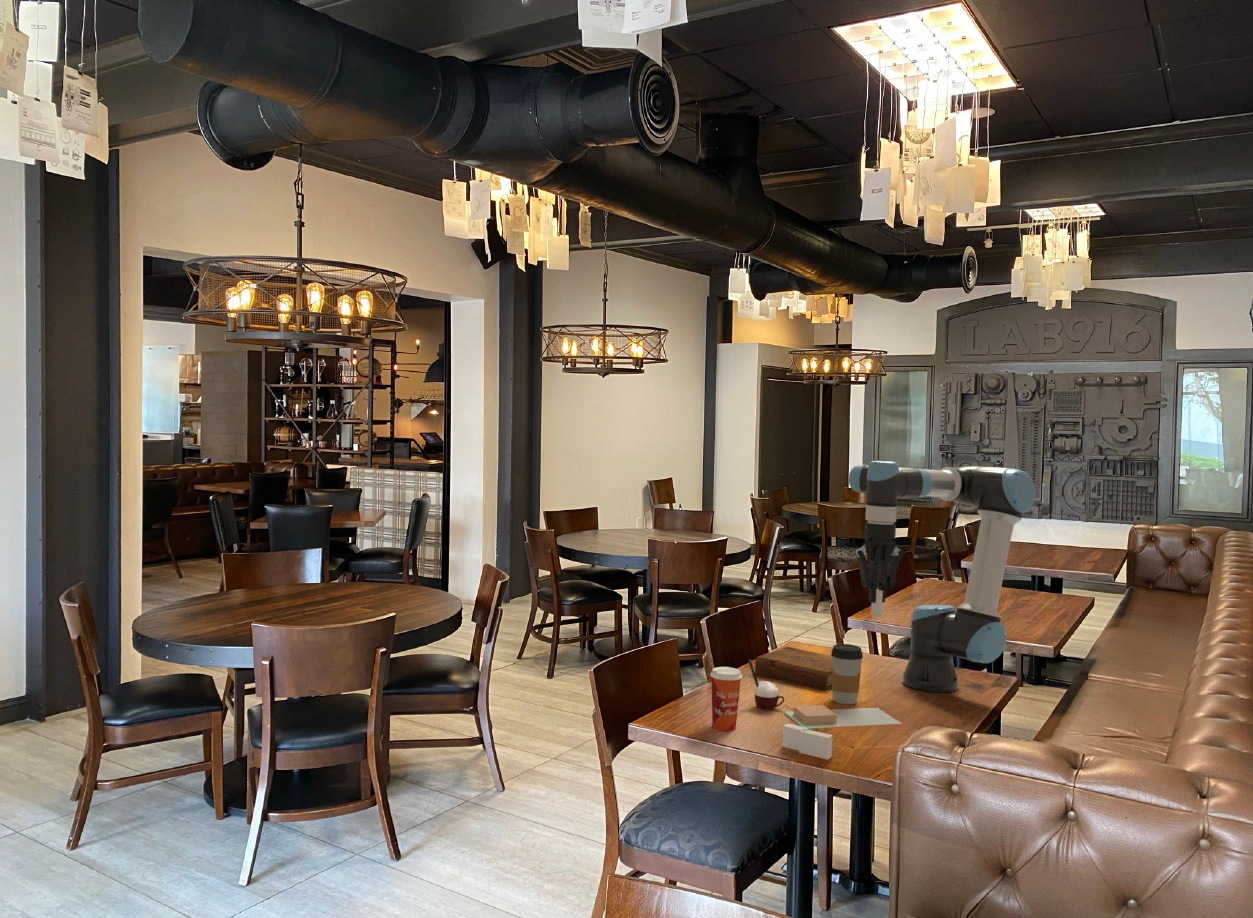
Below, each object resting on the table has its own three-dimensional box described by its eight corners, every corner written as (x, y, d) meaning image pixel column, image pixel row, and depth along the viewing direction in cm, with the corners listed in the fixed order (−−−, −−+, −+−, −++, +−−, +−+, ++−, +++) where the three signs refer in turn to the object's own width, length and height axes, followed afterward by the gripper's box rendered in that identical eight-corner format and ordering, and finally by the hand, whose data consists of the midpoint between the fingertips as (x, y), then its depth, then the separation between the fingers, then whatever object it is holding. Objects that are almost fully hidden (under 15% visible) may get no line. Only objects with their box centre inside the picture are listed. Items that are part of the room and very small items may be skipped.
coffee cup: (861, 709, 252) (864, 652, 251) (828, 706, 253) (831, 649, 253) (860, 700, 260) (862, 645, 259) (828, 697, 262) (831, 642, 261)
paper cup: (715, 733, 228) (717, 675, 228) (703, 723, 236) (705, 666, 235) (745, 731, 231) (748, 674, 230) (733, 721, 238) (735, 665, 237)
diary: (754, 676, 282) (755, 657, 282) (786, 665, 297) (786, 646, 296) (826, 692, 268) (826, 672, 267) (855, 679, 282) (856, 659, 282)
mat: (876, 709, 252) (877, 707, 252) (902, 725, 239) (902, 723, 239) (784, 713, 246) (784, 711, 246) (804, 730, 233) (804, 728, 233)
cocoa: (785, 709, 250) (790, 664, 250) (774, 714, 245) (779, 668, 245) (752, 701, 256) (757, 656, 255) (741, 705, 251) (746, 660, 250)
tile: (822, 705, 246) (793, 706, 244) (836, 714, 238) (806, 716, 236) (822, 712, 246) (793, 714, 244) (836, 723, 238) (806, 724, 236)
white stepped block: (845, 762, 214) (846, 736, 213) (799, 766, 210) (800, 740, 210) (812, 739, 228) (813, 716, 228) (768, 743, 224) (769, 719, 224)
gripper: (896, 520, 247) (892, 611, 248) (849, 520, 244) (845, 612, 245) (911, 524, 240) (907, 618, 241) (863, 524, 237) (859, 619, 238)
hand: (876, 615), depth 243 cm, fingers closed
